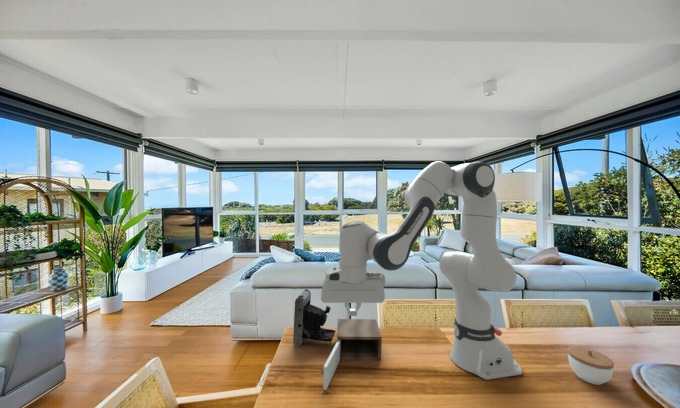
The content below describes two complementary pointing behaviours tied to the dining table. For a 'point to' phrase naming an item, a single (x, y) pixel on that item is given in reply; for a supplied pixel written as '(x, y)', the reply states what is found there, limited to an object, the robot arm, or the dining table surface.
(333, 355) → the door
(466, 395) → the dining table surface
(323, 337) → the vintage camera
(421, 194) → the robot arm
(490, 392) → the dining table surface
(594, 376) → the lidded jar
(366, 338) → the case
